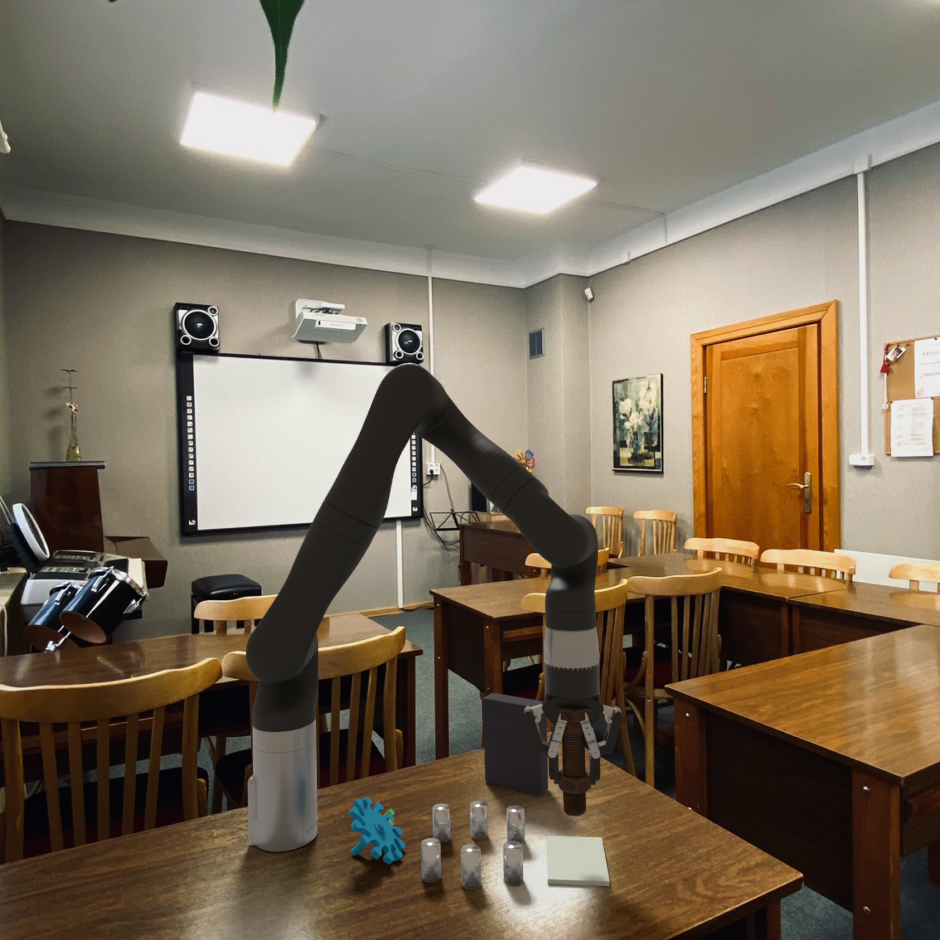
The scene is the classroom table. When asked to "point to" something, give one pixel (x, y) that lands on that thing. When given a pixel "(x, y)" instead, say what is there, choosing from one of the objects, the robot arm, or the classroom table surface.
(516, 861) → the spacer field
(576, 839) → the plate
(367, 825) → the gear
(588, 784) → the bolt
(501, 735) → the dark grey slab
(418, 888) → the classroom table surface
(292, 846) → the robot arm
